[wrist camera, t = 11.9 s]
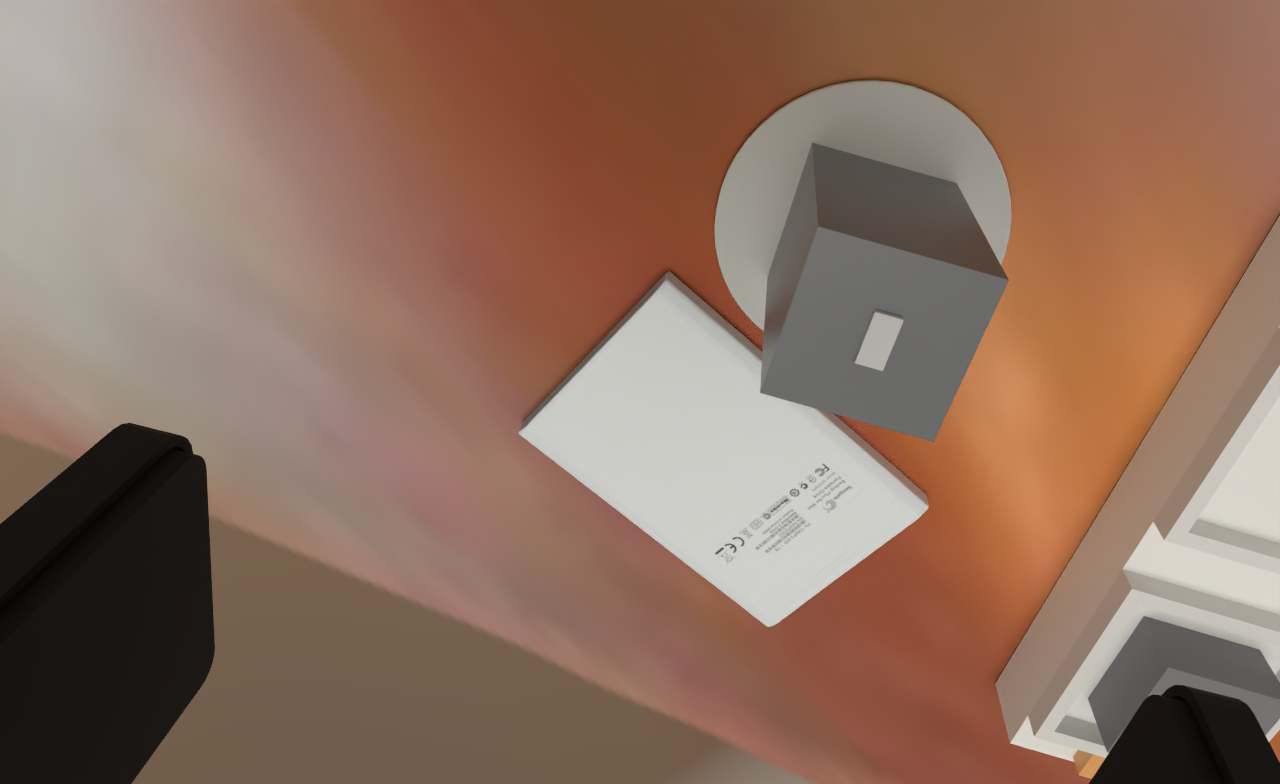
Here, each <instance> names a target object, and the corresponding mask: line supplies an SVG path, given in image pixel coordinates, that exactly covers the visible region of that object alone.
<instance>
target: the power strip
mask: <svg viewBox="0 0 1280 784" xmlns="http://www.w3.org/2000/svg"><path fill="white" fill-rule="evenodd" d="M995 685H996V689H997V693H998V697H999V701H1000V705H1001V709H1002V713H1003V717H1004V721H1005V725H1006V729H1007V733H1008V737H1009V741H1010V743H1011V744H1015V745H1018V746H1021V747H1025V748H1028V749H1032V750H1035V751H1039V752H1042V753H1045V754H1049V755H1052V756H1056V757H1059V758H1062V759H1066V760H1069V761H1073V762H1075V765H1076V769H1077V772H1078V775H1080V776H1084V777H1087V778H1091V779H1092V778H1093V777H1094V775H1095V774H1096V772H1097V770H1098V769H1099V767H1100V766H1101V764H1102V763H1103V761H1104V760H1105V758H1106V757H1107V755H1108V754H1109V752H1110V751H1111V749H1112V748H1113V746H1114V745H1115V743H1116V742H1117V740H1118V739H1119V737H1120V736H1121V734H1122V733H1123V731H1124V729H1125V728H1126V726H1127V725H1128V723H1129V722H1130V720H1131V719H1132V717H1133V716H1134V714H1135V713H1136V711H1137V710H1138V708H1139V707H1140V705H1141V704H1142V702H1143V701H1144V700H1145V699H1146V698H1147V697H1149V696H1151V695H1162V694H1163V693H1164V692H1165V691H1166V690H1167V689H1168V688H1170V687H1172V686H1174V685H1184V686H1188V687H1192V688H1196V689H1200V690H1204V691H1208V692H1212V693H1216V694H1220V695H1224V696H1228V697H1232V698H1236V699H1240V700H1241V701H1243V702H1244V703H1246V704H1247V705H1248V706H1249V707H1250V709H1251V710H1252V711H1253V713H1254V714H1255V716H1256V718H1257V720H1258V722H1259V724H1260V726H1261V728H1262V730H1263V732H1264V734H1265V736H1266V738H1267V739H1268V741H1270V740H1271V739H1272V738H1273V737H1274V735H1275V734H1276V733H1277V732H1278V731H1279V730H1280V216H1279V217H1278V219H1277V221H1276V222H1275V224H1274V226H1273V227H1272V229H1271V230H1270V232H1269V234H1268V235H1267V237H1266V239H1265V240H1264V242H1263V244H1262V245H1261V247H1260V249H1259V250H1258V252H1257V254H1256V255H1255V257H1254V258H1253V260H1252V262H1251V263H1250V265H1249V267H1248V268H1247V270H1246V272H1245V273H1244V275H1243V277H1242V278H1241V280H1240V281H1239V283H1238V285H1237V286H1236V288H1235V290H1234V291H1233V293H1232V295H1231V296H1230V298H1229V300H1228V301H1227V303H1226V305H1225V306H1224V308H1223V309H1222V311H1221V313H1220V314H1219V316H1218V318H1217V319H1216V321H1215V323H1214V324H1213V326H1212V328H1211V329H1210V331H1209V333H1208V334H1207V336H1206V337H1205V339H1204V341H1203V342H1202V344H1201V346H1200V347H1199V349H1198V351H1197V352H1196V354H1195V356H1194V357H1193V359H1192V361H1191V362H1190V364H1189V365H1188V367H1187V369H1186V370H1185V372H1184V374H1183V375H1182V377H1181V379H1180V380H1179V382H1178V384H1177V385H1176V387H1175V389H1174V390H1173V392H1172V393H1171V395H1170V397H1169V398H1168V400H1167V402H1166V403H1165V405H1164V407H1163V408H1162V410H1161V412H1160V413H1159V415H1158V417H1157V418H1156V420H1155V421H1154V423H1153V425H1152V426H1151V428H1150V430H1149V431H1148V433H1147V435H1146V436H1145V438H1144V440H1143V441H1142V443H1141V445H1140V446H1139V448H1138V449H1137V451H1136V453H1135V454H1134V456H1133V458H1132V459H1131V461H1130V463H1129V464H1128V466H1127V468H1126V469H1125V471H1124V473H1123V474H1122V476H1121V477H1120V479H1119V481H1118V482H1117V484H1116V486H1115V487H1114V489H1113V491H1112V492H1111V494H1110V496H1109V497H1108V499H1107V501H1106V502H1105V504H1104V505H1103V507H1102V509H1101V510H1100V512H1099V514H1098V515H1097V517H1096V519H1095V520H1094V522H1093V524H1092V525H1091V527H1090V529H1089V530H1088V532H1087V533H1086V535H1085V537H1084V538H1083V540H1082V542H1081V543H1080V545H1079V547H1078V548H1077V550H1076V552H1075V553H1074V555H1073V557H1072V558H1071V560H1070V561H1069V563H1068V565H1067V566H1066V568H1065V570H1064V571H1063V573H1062V575H1061V576H1060V578H1059V580H1058V581H1057V583H1056V585H1055V586H1054V588H1053V589H1052V591H1051V593H1050V594H1049V596H1048V598H1047V599H1046V601H1045V603H1044V604H1043V606H1042V608H1041V609H1040V611H1039V613H1038V614H1037V616H1036V617H1035V619H1034V621H1033V622H1032V624H1031V626H1030V627H1029V629H1028V631H1027V632H1026V634H1025V636H1024V637H1023V639H1022V641H1021V642H1020V644H1019V645H1018V647H1017V649H1016V650H1015V652H1014V654H1013V655H1012V657H1011V659H1010V660H1009V662H1008V664H1007V665H1006V667H1005V669H1004V670H1003V672H1002V673H1001V675H1000V677H999V678H998V680H997V682H996V683H995Z"/></svg>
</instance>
